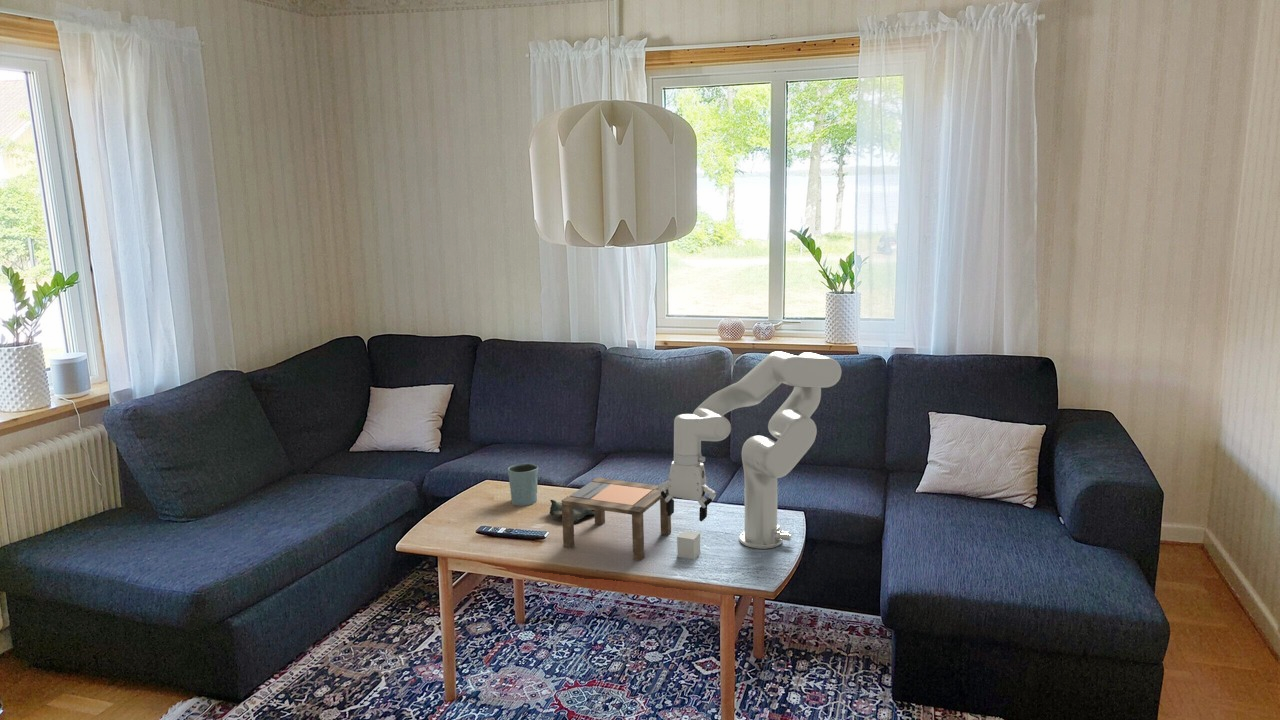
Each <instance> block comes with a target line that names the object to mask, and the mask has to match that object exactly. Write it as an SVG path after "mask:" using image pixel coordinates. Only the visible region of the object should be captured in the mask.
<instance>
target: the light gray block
mask: <svg viewBox="0 0 1280 720" xmlns="http://www.w3.org/2000/svg"><path fill="white" fill-rule="evenodd" d="M676 537H677V538H676V540H677V541H676V542H677V543H676V544H677V546H676V547H677V548H676V549H677V551H676V553H677V558H678V557H679V558H684V559H690V560H695V559H696V558H697V557H698V556H699V555H700V554H701V532H697V531H696V532H694V531H689V530H683V531H682V532H681V533H680V534H679V535H677V536H676Z"/></svg>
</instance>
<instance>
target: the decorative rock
mask: <svg viewBox="0 0 1280 720" xmlns="http://www.w3.org/2000/svg"><path fill="white" fill-rule="evenodd" d="M549 501H550V503H551V504H550V508H549V515H550V516H552V517H553V516H554V517H558V518H559V517H562V502H560V501H557V500H554V499H550V500H549ZM587 515H592V516H593V515H594V509H590V508H586V509H585V510H584V511H582V510H575V509H573V517H574V526H575V525H577V523H578V521H579V520H582V519H584V517H586V516H587Z"/></svg>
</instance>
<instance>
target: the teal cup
mask: <svg viewBox="0 0 1280 720" xmlns="http://www.w3.org/2000/svg"><path fill="white" fill-rule="evenodd" d="M507 474H508V475H507V476H508V481H509V491H510V499H511V500H510V501H511V503H512V504H513V506H519V507H526V506H531V505H534V504H535V503H537V501H538V475H539V466H538V465H536V464H534V463H526V462H525V463H516V464H513V465H510V466H509V467H507Z"/></svg>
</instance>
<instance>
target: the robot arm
mask: <svg viewBox="0 0 1280 720" xmlns="http://www.w3.org/2000/svg"><path fill="white" fill-rule="evenodd" d="M841 377H842V368H841V365H840V363H839V362H838V361H837V360H836V359H834V358H832V357H829V356H825V355H822V354H818V353H814V352H808V351H807V352H802V353H800V354H799V355H798V356H797V355H794V354H790V353H788V352H784V351H773V352H771V353H769V354H768V355H766V356H765V357H764V358H763V359H762V360H761V361H760V362H759V363H758V364H756V365H755V366H754V367H753V368H752V369H751V370H750V371H749V372H748V373H746V374H745V375H744V376H743V377H742V378H740V380H738V381H737V382H734V383H731V384H729V385H728V386H726V387H724V388H722V389H720V390H718V391H716V392H714V393H712V394H711V395H709V397H707V398H706V399H705V400H703V402H702V403H700V404H699V405H698V406H697V407H696V408H695V409H694V411H693V412H692V413H681V414H677V415H676V416H675V418H674V419H673V460H672V462H671V463H670V464H671V465H670V469H669V475H668V480H666V481H664V482H661V483H659V484H657V485H658V488H659V491H660V492H661V495H662V497H663V498H664V499H665V502H666V511H667V512H668V513H667V515H668V516H671V517H672V515H673V514H674V512H675V500H674V498H677V499H683V500H688V501H689V500H691V501H697V503H698V504H699V505H700V507H699V510H698V513H699V515H698V516H699V517H698V518H699V519H698V520H699V521H700V522H703V521H704V520H705V519H706V518H707V517H708V506H709V505H710V504H711V503H713V502H714V499H715V497H716V496H717V492H716V491H715V490H714V489H712V488H711V487H709V486H708V485H707V478H706V477H707V476H706V470H705V465H704V463H703V462H705V461H706V456H703V455H702V441H703V442H721V441H723V440H726V438H728V437H729V435H730V434H731V430H732V426H731V425H732V424H731V423H730V420H729V419H728V418H727V417H725V415H726V414H727V413H729V412H731V411H734V410H736V409H739V408H745V407H752V406H755V405H756V406H757V405H759V404H760V403H762V401H763V400H764V399H766V398H767V396H769V395H770V394H772V392H774V391H775V390H776V389H777V388H778V387H779V386H780V385H781V384H784V385H787V386H791V387H793V389H792V392H791V393H790V394H789V396H788V397H787V398H786V400H785V401H784V402H783V403H782V404H781V406H779V408H778V409H777V410H776V411H775V413H773V415H772V416H771V418H770V419H769V420H768V424H767V428H768V432H769V433H770V435H771V436H772V437H774V438H775V439H777V440H776V441H775V440H773V439H771V438H769V437H766V436H764V435H754V436H750V437H749V438H748V439H746V441H745V442H744V443H743V445H742V447H741V448H742V449H741V461H742V467H743V473H744V475H743V476H744V531H742V532H741V533H740V534H739V538H738V540H739V542H740V543H741V544H742V545H743V546H746V547H749V548H752V549H759V550H760V549H761V550H764V549H772V548H776V547H779V546H780V545H781V544H782V543H783V540H784V541H787V542H790V541H791V540H792V534H791V533H790V531H787V530H782V529H781V525H780V524H778V490H779V489H778V488H779V487H778V479H780V478H783V477H785V476H787V475H788V474H789V473H790V472H791V471H792V470H793V469H794V468H795V466H797V464H798V463H799V462H800V461H801V459H802V458H803V457H804V456H805V455H806V454H807V453H808V451H809V450H810V448H811V447H812V445H813V444H814V443H815V440H816V436H817V433H818V430H817V424H816V423H815V421H814V420H813V418H811V417H812V415H813V414H814V413H815V412H816V410H817V409H818V407H819V405H820V402H821V396H822V389H823V388H830V387H834V386H835V385H837V383H838V382H840V380H841ZM665 487H668V492H667V491H666V490H665ZM668 493H669V494H668ZM706 494H707V495H709V497H708V499H707V498H706Z"/></svg>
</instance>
